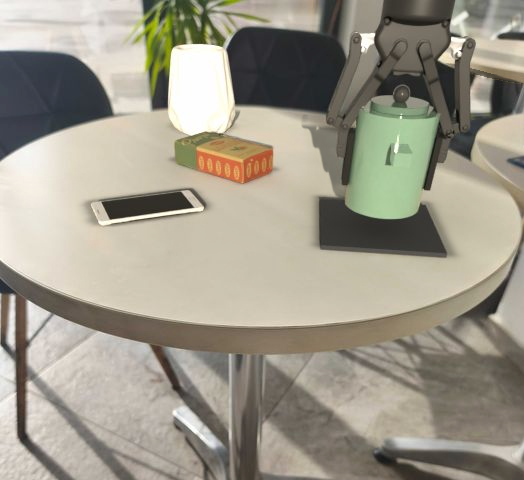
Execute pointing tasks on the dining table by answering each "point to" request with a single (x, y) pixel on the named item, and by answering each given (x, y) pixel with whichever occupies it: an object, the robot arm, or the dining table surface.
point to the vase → (200, 89)
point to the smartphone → (146, 207)
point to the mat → (378, 232)
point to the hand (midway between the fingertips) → (384, 184)
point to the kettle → (391, 155)
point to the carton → (224, 156)
